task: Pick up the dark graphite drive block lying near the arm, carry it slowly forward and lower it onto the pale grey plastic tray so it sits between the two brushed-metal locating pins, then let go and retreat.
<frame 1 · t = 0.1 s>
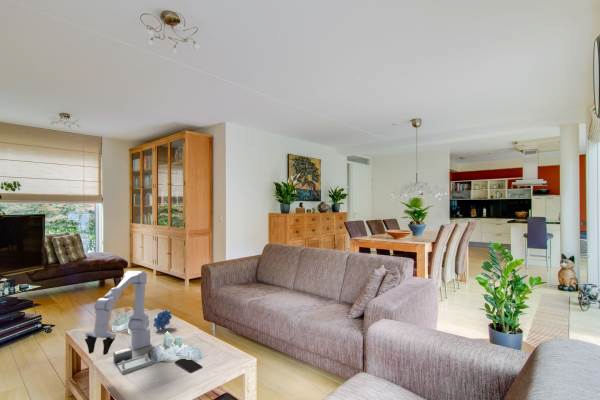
hand: (98, 353, 150), 11 cm above the table, tool pointing down, fingers open, 7 cm apart
grapes: (162, 328, 205), on the table
tray: (135, 365, 159), on the table
smartphone: (188, 366, 160), on the table
drive: (123, 360, 164), on the table
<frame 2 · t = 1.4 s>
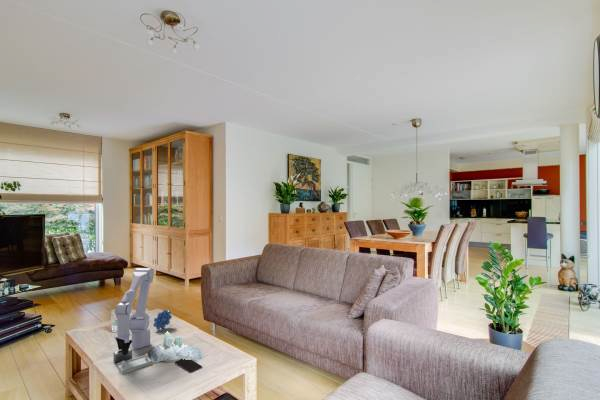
hand: (123, 351, 164), 4 cm above the table, tool pointing down, fingers open, 7 cm apart
nothing on the table moved.
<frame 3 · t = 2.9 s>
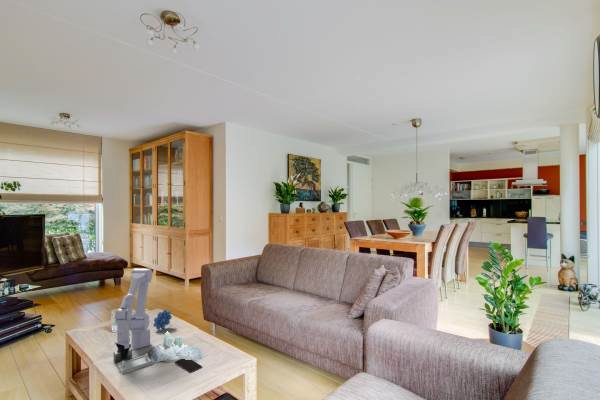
hand: (123, 357, 164), 1 cm above the table, tool pointing down, fingers closed on drive, 4 cm apart
drive: (123, 360, 164), on the table, touching gripper
everything else where it was.
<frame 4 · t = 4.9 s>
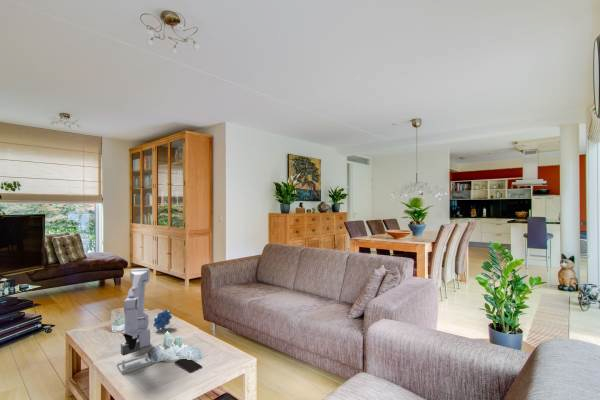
hand: (130, 348, 161), 8 cm above the table, tool pointing down, fingers closed on drive, 4 cm apart
drive: (130, 351, 161), point 6 cm above the table, touching gripper
everything else where it was.
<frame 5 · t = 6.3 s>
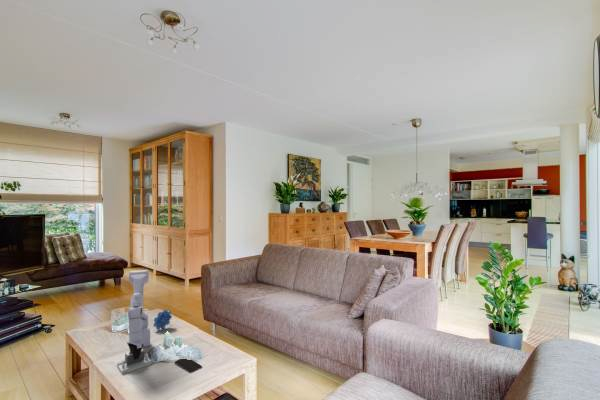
hand: (135, 357, 159), 4 cm above the table, tool pointing down, fingers closed on drive, 4 cm apart
drive: (134, 361, 159), point 2 cm above the table, touching gripper
everything else where it was.
when the fingers open (4 cm above the table, at t = 7.2 s): drive stays where it is, resting on tray.
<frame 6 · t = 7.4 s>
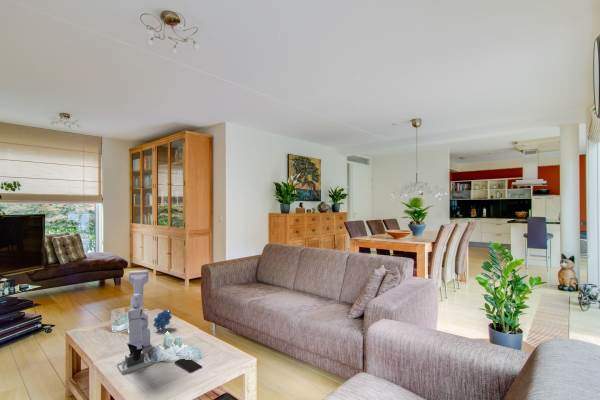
hand: (135, 358, 159), 4 cm above the table, tool pointing down, fingers open, 5 cm apart
drive: (134, 363, 159), point 1 cm above the table, touching tray
everything else where it was.
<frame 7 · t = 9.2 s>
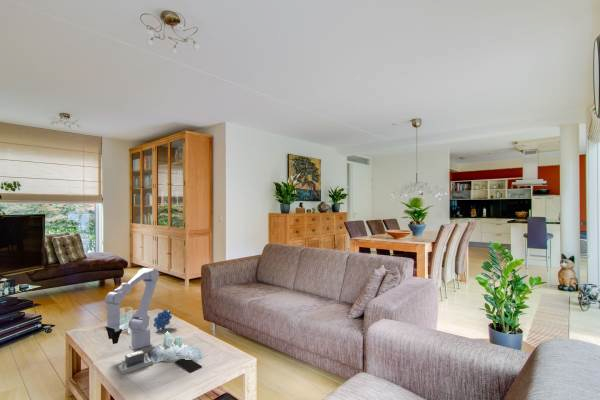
hand: (113, 341, 164), 10 cm above the table, tool pointing down, fingers open, 7 cm apart
nothing on the table moved.
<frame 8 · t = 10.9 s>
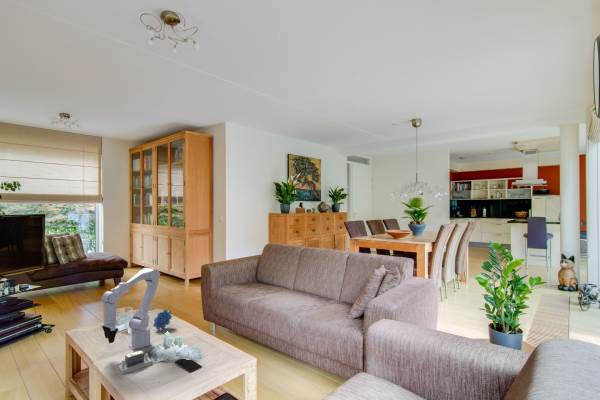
hand: (109, 340, 165), 10 cm above the table, tool pointing down, fingers open, 7 cm apart
nothing on the table moved.
at the end: drive 0.1 cm off-centre on the tray, point 1.0 cm above the tray's base; drive tilted 0°; the gripper is holding nothing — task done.
